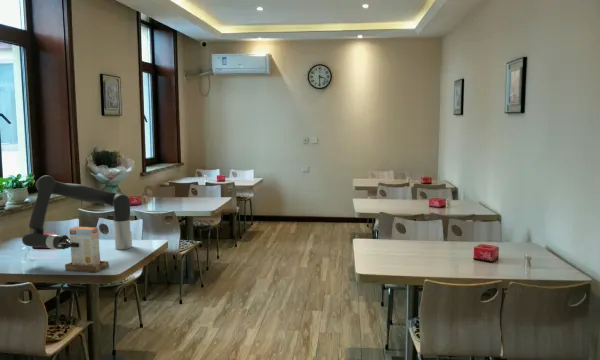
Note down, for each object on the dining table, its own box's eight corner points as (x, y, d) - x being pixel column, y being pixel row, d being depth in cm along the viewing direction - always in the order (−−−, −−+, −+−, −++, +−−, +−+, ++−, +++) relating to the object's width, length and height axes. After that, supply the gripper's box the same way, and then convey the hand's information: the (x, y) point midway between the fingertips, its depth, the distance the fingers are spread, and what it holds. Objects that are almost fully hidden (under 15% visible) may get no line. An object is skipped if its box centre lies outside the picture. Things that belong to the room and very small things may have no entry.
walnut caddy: (79, 264, 273) (79, 259, 273) (108, 266, 268) (108, 261, 268) (65, 270, 263) (64, 264, 263) (95, 272, 258) (94, 267, 258)
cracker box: (101, 266, 266) (98, 227, 264) (93, 269, 260) (90, 229, 258) (79, 264, 271) (77, 225, 268) (71, 267, 265) (68, 228, 262)
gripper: (46, 238, 262) (73, 239, 257) (66, 231, 275) (92, 233, 271) (47, 252, 263) (74, 254, 258) (67, 245, 276) (93, 247, 272)
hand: (83, 243), depth 264 cm, fingers open, 7 cm apart
